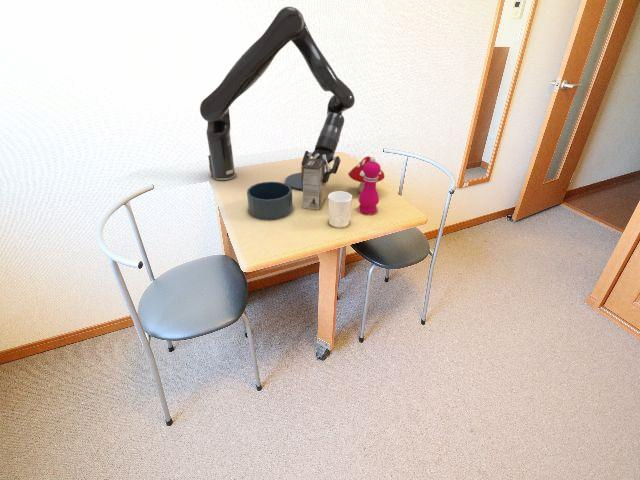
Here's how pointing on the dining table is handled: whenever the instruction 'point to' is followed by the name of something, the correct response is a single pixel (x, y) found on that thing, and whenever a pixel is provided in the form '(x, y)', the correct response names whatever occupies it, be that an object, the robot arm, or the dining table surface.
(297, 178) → the pot lid
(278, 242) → the dining table surface
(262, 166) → the dining table surface
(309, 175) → the coffee box
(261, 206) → the pot
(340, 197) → the white cup
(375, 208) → the pepper mill
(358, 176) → the decorative mushroom
